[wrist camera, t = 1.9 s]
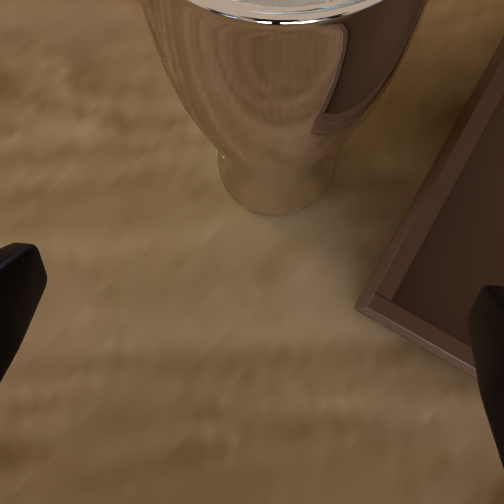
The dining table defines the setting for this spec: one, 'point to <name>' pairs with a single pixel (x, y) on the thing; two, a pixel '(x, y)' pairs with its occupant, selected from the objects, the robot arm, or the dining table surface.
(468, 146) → the tray
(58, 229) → the dining table surface
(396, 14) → the beer glass
